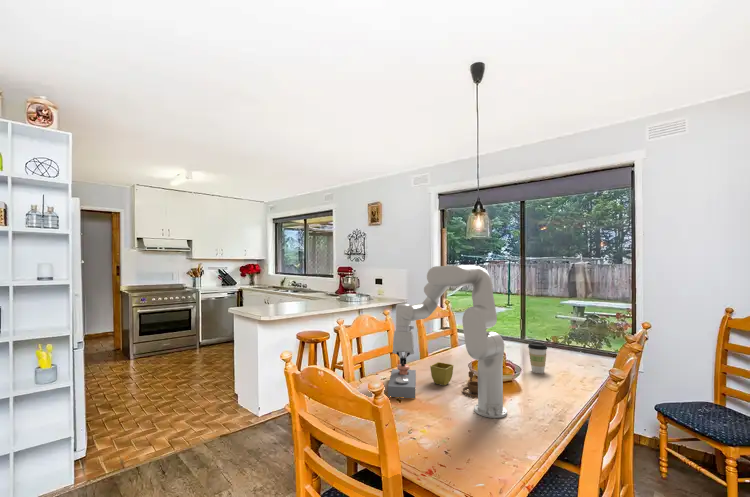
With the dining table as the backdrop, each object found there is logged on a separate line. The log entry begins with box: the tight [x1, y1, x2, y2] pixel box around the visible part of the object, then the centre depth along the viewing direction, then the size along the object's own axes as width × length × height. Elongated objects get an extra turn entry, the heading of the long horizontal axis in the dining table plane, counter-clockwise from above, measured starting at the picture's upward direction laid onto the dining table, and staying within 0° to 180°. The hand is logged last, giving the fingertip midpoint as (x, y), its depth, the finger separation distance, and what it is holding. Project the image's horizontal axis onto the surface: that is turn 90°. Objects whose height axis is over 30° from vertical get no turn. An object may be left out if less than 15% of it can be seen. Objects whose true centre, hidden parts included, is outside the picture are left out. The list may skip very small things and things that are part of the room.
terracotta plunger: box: [396, 363, 410, 375], centre depth 176 cm, size 6×6×6 cm
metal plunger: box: [396, 377, 409, 384], centre depth 162 cm, size 6×6×6 cm
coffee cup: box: [527, 342, 548, 374], centre depth 196 cm, size 10×10×15 cm
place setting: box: [462, 370, 478, 398], centre depth 166 cm, size 18×20×6 cm
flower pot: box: [429, 361, 454, 386], centre depth 175 cm, size 9×9×9 cm
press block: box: [387, 368, 417, 399], centre depth 169 cm, size 26×12×5 cm, turn 173°
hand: (403, 365), depth 176 cm, fingers closed
